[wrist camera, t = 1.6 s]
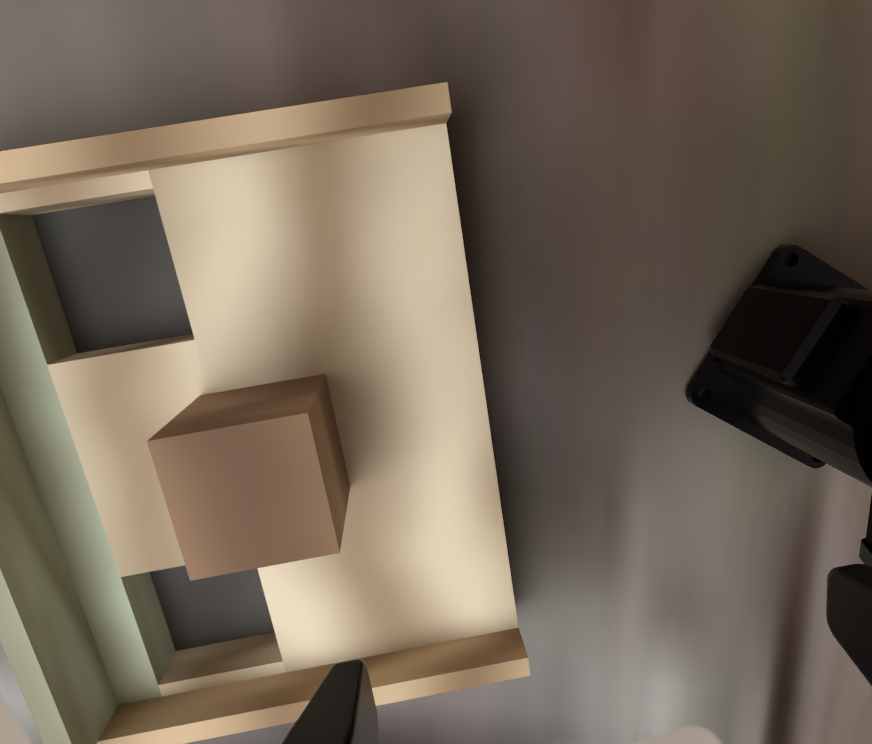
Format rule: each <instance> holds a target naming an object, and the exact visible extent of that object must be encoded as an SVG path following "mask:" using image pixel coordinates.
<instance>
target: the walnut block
mask: <svg viewBox="0 0 872 744" xmlns="http://www.w3.org/2000/svg"><path fill="white" fill-rule="evenodd" d="M147 444H148V447H149V450H150V453H151V456H152V460H153V463H154V466H155V469H156V473H157V476H158V479H159V482H160V485H161V489H162V492H163V495H164V498H165V501H166V505H167V508H168V511H169V514H170V518H171V521H172V524H173V527H174V530H175V534H176V537H177V540H178V543H179V547H180V550H181V553H182V556H183V559H184V563H185V566H186V569H187V572H188V575H189V579H190V581H192V580H197V579H202V578H208V577H213V576H219V575H224V574H229V573H235V572H240V571H246V570H251V569H256V568H262V567H267V566H273V565H278V564H283V563H289V562H294V561H299V560H305V559H310V558H316V557H321V556H326V555H332V554H337V553H340V549H341V543H342V536H343V530H344V524H345V517H346V511H347V504H348V498H349V492H350V484H349V479H348V474H347V470H346V465H345V461H344V456H343V451H342V447H341V442H340V438H339V433H338V428H337V424H336V419H335V414H334V410H333V405H332V401H331V396H330V391H329V387H328V382H327V378H326V374H320V375H315V376H309V377H303V378H297V379H291V380H286V381H280V382H274V383H268V384H263V385H257V386H251V387H245V388H240V389H234V390H228V391H222V392H217V393H211V394H205V395H200V396H199V397H197V398H196V399H195V400H194V401H193V402H192V403H191V404H189V405H188V406H187V407H186V408H185V409H184V410H182V411H181V412H180V413H179V414H178V415H177V416H175V417H174V418H173V419H172V420H171V421H170V422H168V423H167V424H166V425H165V426H164V427H163V428H161V429H160V430H159V431H158V432H157V433H156V434H154V435H153V436H152V437H151V438H150V439H149V440H148V441H147Z"/></svg>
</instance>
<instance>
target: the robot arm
mask: <svg viewBox="0 0 872 744" xmlns="http://www.w3.org/2000/svg"><path fill="white" fill-rule="evenodd" d="M788 253H789V254H790V258H791V259H790V262H789V263H788V264H787V265H786V264H785V261H784V260H785V257H786V255H787V254H788ZM704 388H705V394H704V396H703V397H701V398H698V393H699V391H700V390H701V389H704ZM686 397H687V399H688V401H689V402H690V403H692V404H694V405H695V406H697V407H699V408H701V409H703V410H704V411H706V412H708V413H710V414H712V415H714V416H716V417H718V418H719V419H721V420H723V421H725V422H727V423H729V424H731V425H733V426H734V427H736V428H738V429H740V430H742V431H744V432H746V433H747V434H749V435H751V436H753V437H755V438H757V439H759V440H761V441H762V442H764V443H766V444H768V445H770V446H772V447H774V448H775V449H777V450H779V451H781V452H783V453H785V454H787V455H789V456H790V457H792V458H794V459H796V460H798V461H800V462H802V463H804V464H805V465H807V466H809V467H812V468H820V467H822V466H824V465H825V464H826V463H827V464H829V465H831V466H832V467H834V468H836V469H838V470H840V471H842V472H844V473H846V474H848V475H849V476H851V477H853V478H855V479H857V480H859V481H861V482H863V483H864V484H866V485H868V486H870V487H872V290H868V289H866V288H865V287H863V286H862V285H860V284H858V283H857V282H855V281H854V280H852V279H851V278H849V277H847V276H846V275H844V274H843V273H841V272H839V271H838V270H836V269H835V268H833V267H831V266H830V265H828V264H827V263H825V262H823V261H822V260H820V259H819V258H817V257H815V256H814V255H812V254H811V253H809V252H807V251H806V250H804V249H803V248H801V247H799V246H796V245H782V246H780V247H778V248H776V250H775V251H774V252H773V253H772V255H771V256H770V258H769V259H768V261H767V263H766V264H765V266H764V267H763V269H762V270H761V272H760V274H759V275H758V277H757V278H756V280H755V281H754V283H753V285H752V286H751V287H749V288H747V290H746V291H745V293H744V294H743V296H742V298H741V299H740V301H739V302H738V304H737V305H736V307H735V309H734V310H733V312H732V313H731V315H730V316H729V318H728V320H727V321H726V323H725V324H724V326H723V327H722V329H721V331H720V332H719V334H718V335H717V337H716V339H715V340H714V342H713V343H712V345H711V351H710V352H709V354H708V355H707V357H706V359H705V360H704V362H703V363H702V365H701V366H700V368H699V370H698V371H697V373H696V374H695V376H694V377H693V379H692V381H691V382H690V384H689V385H688V387H687V390H686ZM812 456H814V457H813V458H812ZM859 557H860V559H861V560H862V561H863V563H864V564H865V565H864V564H852V565H847V566H842V567H837V568H834V569H832V570H831V571H830V572H829V574H828V577H827V610H826V616H827V622H828V625H829V628H830V630H831V632H832V634H833V635H834V637H835V638H836V640H837V641H838V642H839V644H840V645H841V646H842V648H843V649H844V650H845V652H846V653H847V654H848V656H849V657H850V658H851V660H852V661H853V662H854V663H855V665H856V666H857V667H858V669H859V670H860V671H861V673H862V674H863V675H864V677H865V678H866V679H867V681H868V682H869V683H870V685H871V686H872V497H871V504H870V512H869V519H868V527H867V534H866V538H864V539H862V540H861V546H860V554H859ZM282 744H379V739H378V719H377V711H376V705H375V700H374V696H373V691H372V687H371V683H370V678H369V674H368V669H367V665H366V663H365V661H364V660H363V659H354V660H349V661H344V662H339V663H336V664H335V665H334V666H333V667H332V668H331V670H330V671H329V673H328V674H327V676H326V677H325V679H324V680H323V682H322V683H321V685H320V686H319V688H318V689H317V691H316V692H315V694H314V695H313V697H312V698H311V700H310V701H309V703H308V705H307V706H306V708H305V709H304V711H303V712H302V714H301V715H300V717H299V718H298V720H297V721H296V723H295V724H294V726H293V727H292V729H291V730H290V732H289V733H288V735H287V736H286V738H285V739H284V741H283V742H282Z"/></svg>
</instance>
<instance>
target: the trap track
mask: <svg viewBox="0 0 872 744" xmlns="http://www.w3.org/2000/svg"><path fill="white" fill-rule="evenodd" d="M451 113H452V111H451V104H450V97H449V90H448V83H447V82H444V83H437V84H431V85H424V86H418V87H411V88H405V89H399V90H392V91H386V92H379V93H373V94H366V95H360V96H353V97H347V98H341V99H334V100H328V101H321V102H315V103H308V104H302V105H295V106H289V107H283V108H276V109H270V110H263V111H257V112H250V113H244V114H238V115H231V116H225V117H218V118H212V119H205V120H199V121H192V122H186V123H180V124H173V125H167V126H160V127H154V128H147V129H141V130H134V131H128V132H122V133H115V134H109V135H102V136H96V137H89V138H83V139H76V140H70V141H64V142H57V143H51V144H44V145H38V146H31V147H25V148H19V149H12V150H6V151H0V642H1V644H2V647H3V649H4V651H5V654H6V656H7V659H8V661H9V663H10V666H11V668H12V670H13V673H14V675H15V677H16V680H17V682H18V685H19V687H20V689H21V692H22V694H23V696H24V699H25V701H26V703H27V706H28V708H29V711H30V713H31V715H32V718H33V720H34V722H35V725H36V727H37V729H38V732H39V734H40V736H41V739H42V741H43V744H184V743H189V742H194V741H199V740H204V739H209V738H215V737H220V736H225V735H230V734H235V733H240V732H245V731H250V730H255V729H260V728H266V727H271V726H276V725H281V724H286V723H291V722H296V721H297V720H298V718H299V717H300V715H301V714H302V712H303V711H304V709H305V708H306V706H307V705H308V703H309V701H310V700H311V698H312V697H313V695H314V694H315V692H316V691H317V689H318V688H319V686H320V685H321V683H322V682H323V680H324V679H325V677H326V676H327V674H328V673H329V671H330V670H331V668H332V667H333V666H334V665H335V664H336V663H339V662H344V661H349V660H354V659H363V660H364V661H365V663H366V665H367V669H368V674H369V678H370V683H371V687H372V691H373V696H374V700H375V705H376V706H378V705H383V704H388V703H393V702H398V701H403V700H408V699H413V698H418V697H424V696H429V695H434V694H439V693H444V692H449V691H454V690H459V689H464V688H469V687H474V686H480V685H485V684H490V683H495V682H500V681H505V680H510V679H515V678H520V677H525V676H531V675H530V668H529V661H528V656H527V653H526V650H525V647H524V643H523V640H522V637H521V634H520V631H519V628H518V621H517V614H516V607H515V600H514V593H513V586H512V579H511V572H510V565H509V558H508V551H507V544H506V537H505V530H504V523H503V516H502V509H501V502H500V495H499V488H498V481H497V474H496V467H495V460H494V453H493V446H492V439H491V432H490V425H489V418H488V411H487V405H486V398H485V391H484V384H483V377H482V370H481V363H480V356H479V349H478V342H477V335H476V328H475V321H474V314H473V307H472V300H471V293H470V286H469V279H468V272H467V265H466V258H465V251H464V244H463V237H462V230H461V223H460V216H459V209H458V202H457V195H456V188H455V181H454V174H453V167H452V160H451V153H450V146H449V139H448V132H447V125H446V123H447V121H448V119H449V117H450V115H451ZM320 374H326V378H327V382H328V387H329V391H330V396H331V401H332V405H333V410H334V414H335V419H336V424H337V428H338V433H339V438H340V442H341V447H342V451H343V456H344V461H345V465H346V470H347V474H348V479H349V484H350V492H349V498H348V504H347V511H346V517H345V524H344V530H343V536H342V543H341V549H340V553H337V554H332V555H326V556H321V557H316V558H310V559H305V560H299V561H294V562H289V563H283V564H278V565H273V566H267V567H262V568H256V569H251V570H246V571H240V572H235V573H229V574H224V575H219V576H213V577H208V578H202V579H197V580H192V581H190V579H189V575H188V572H187V569H186V566H185V563H184V559H183V556H182V553H181V550H180V547H179V543H178V540H177V537H176V534H175V530H174V527H173V524H172V521H171V518H170V514H169V511H168V508H167V505H166V501H165V498H164V495H163V492H162V489H161V485H160V482H159V479H158V476H157V473H156V469H155V466H154V463H153V460H152V456H151V453H150V450H149V447H148V444H147V441H148V440H149V439H150V438H151V437H152V436H153V435H154V434H156V433H157V432H158V431H159V430H160V429H161V428H163V427H164V426H165V425H166V424H167V423H168V422H170V421H171V420H172V419H173V418H174V417H175V416H177V415H178V414H179V413H180V412H181V411H182V410H184V409H185V408H186V407H187V406H188V405H189V404H191V403H192V402H193V401H194V400H195V399H196V398H197V397H199V396H200V395H205V394H211V393H217V392H222V391H228V390H234V389H240V388H245V387H251V386H257V385H263V384H268V383H274V382H280V381H286V380H291V379H297V378H303V377H309V376H315V375H320Z"/></svg>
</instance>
